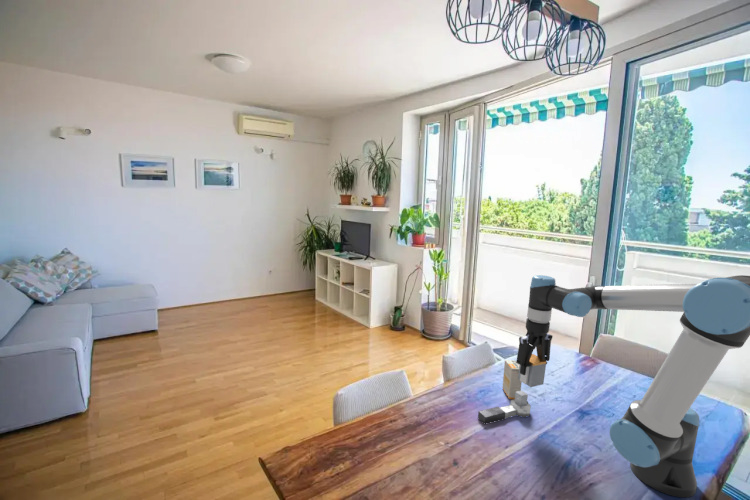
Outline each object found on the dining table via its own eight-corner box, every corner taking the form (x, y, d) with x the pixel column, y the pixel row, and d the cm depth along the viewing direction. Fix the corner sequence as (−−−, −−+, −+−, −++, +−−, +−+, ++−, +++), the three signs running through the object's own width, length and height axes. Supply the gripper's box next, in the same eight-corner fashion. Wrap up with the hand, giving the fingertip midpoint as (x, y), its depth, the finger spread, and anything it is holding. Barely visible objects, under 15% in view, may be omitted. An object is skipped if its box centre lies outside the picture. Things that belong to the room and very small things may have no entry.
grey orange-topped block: (543, 384, 129) (546, 361, 127) (530, 387, 127) (533, 363, 125) (530, 376, 134) (533, 353, 133) (517, 378, 132) (520, 356, 130)
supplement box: (520, 399, 145) (523, 369, 143) (508, 399, 145) (511, 368, 143) (513, 389, 153) (516, 359, 151) (501, 388, 153) (504, 359, 151)
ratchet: (520, 404, 141) (521, 386, 140) (534, 414, 135) (536, 396, 134) (475, 415, 133) (476, 396, 132) (487, 427, 127) (489, 407, 126)
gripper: (549, 313, 134) (541, 371, 138) (509, 318, 126) (502, 380, 130) (566, 320, 127) (558, 381, 131) (526, 326, 119) (518, 390, 123)
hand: (530, 380), depth 130 cm, fingers closed on grey orange-topped block, 6 cm apart
